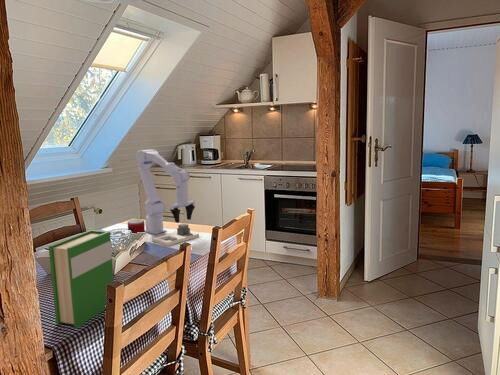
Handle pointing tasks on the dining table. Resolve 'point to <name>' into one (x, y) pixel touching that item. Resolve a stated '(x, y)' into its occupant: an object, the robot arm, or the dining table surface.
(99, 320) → the dining table surface
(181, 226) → the plug
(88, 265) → the hardback book
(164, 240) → the socket plate
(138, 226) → the canned food
